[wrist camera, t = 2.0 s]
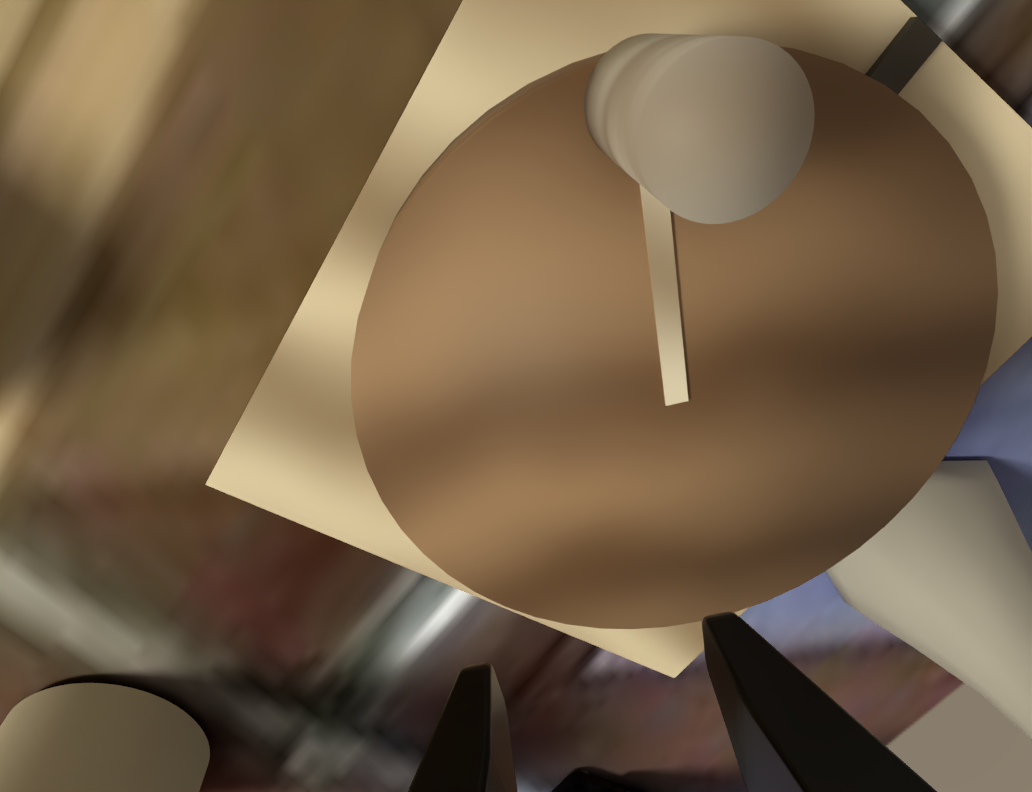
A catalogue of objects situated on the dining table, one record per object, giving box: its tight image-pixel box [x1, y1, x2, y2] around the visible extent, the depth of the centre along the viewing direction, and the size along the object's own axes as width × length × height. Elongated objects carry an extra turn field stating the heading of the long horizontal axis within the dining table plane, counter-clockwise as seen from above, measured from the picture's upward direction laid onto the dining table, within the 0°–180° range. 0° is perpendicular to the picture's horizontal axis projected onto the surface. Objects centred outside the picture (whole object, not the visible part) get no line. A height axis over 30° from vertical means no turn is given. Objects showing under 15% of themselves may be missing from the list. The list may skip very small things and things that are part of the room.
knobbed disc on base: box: [351, 33, 998, 629], centre depth 17 cm, size 17×17×7 cm
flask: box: [826, 460, 1032, 740], centre depth 22 cm, size 7×7×10 cm
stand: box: [205, 0, 1032, 678], centre depth 20 cm, size 21×19×2 cm
